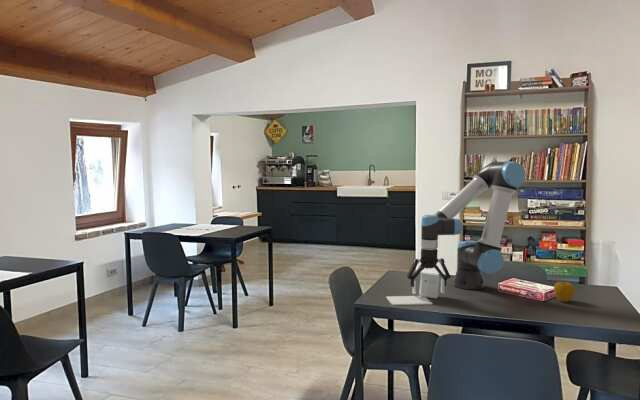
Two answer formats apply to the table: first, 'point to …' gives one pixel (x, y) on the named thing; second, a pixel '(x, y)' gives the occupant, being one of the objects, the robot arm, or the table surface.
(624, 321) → the table surface
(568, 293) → the apple
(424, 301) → the felt mat
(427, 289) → the small box
